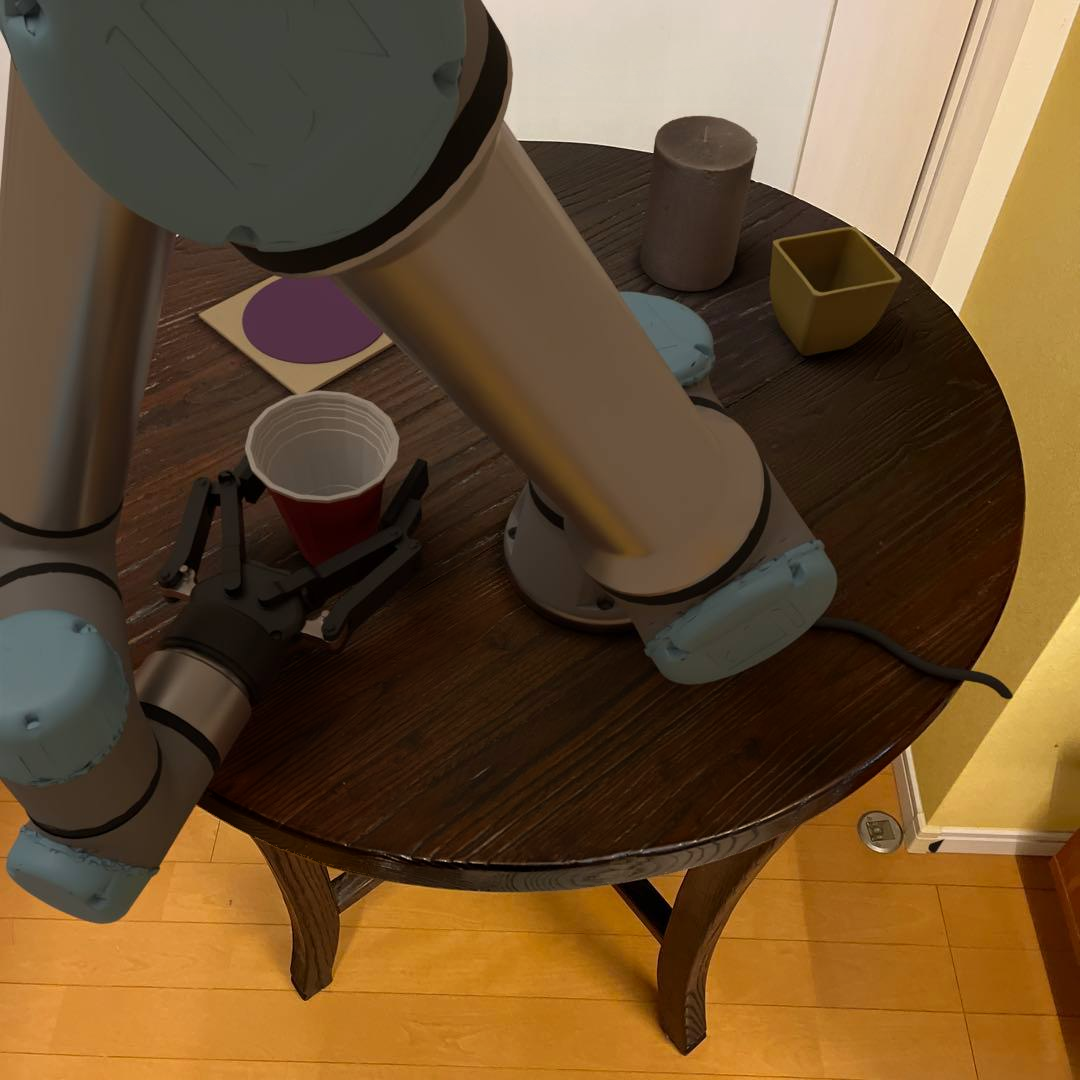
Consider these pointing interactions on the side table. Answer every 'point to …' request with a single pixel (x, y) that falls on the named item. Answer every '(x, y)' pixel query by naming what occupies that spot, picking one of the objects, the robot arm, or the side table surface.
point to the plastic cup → (324, 467)
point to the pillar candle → (696, 201)
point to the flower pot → (829, 288)
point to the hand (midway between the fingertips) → (355, 452)
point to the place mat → (298, 330)
